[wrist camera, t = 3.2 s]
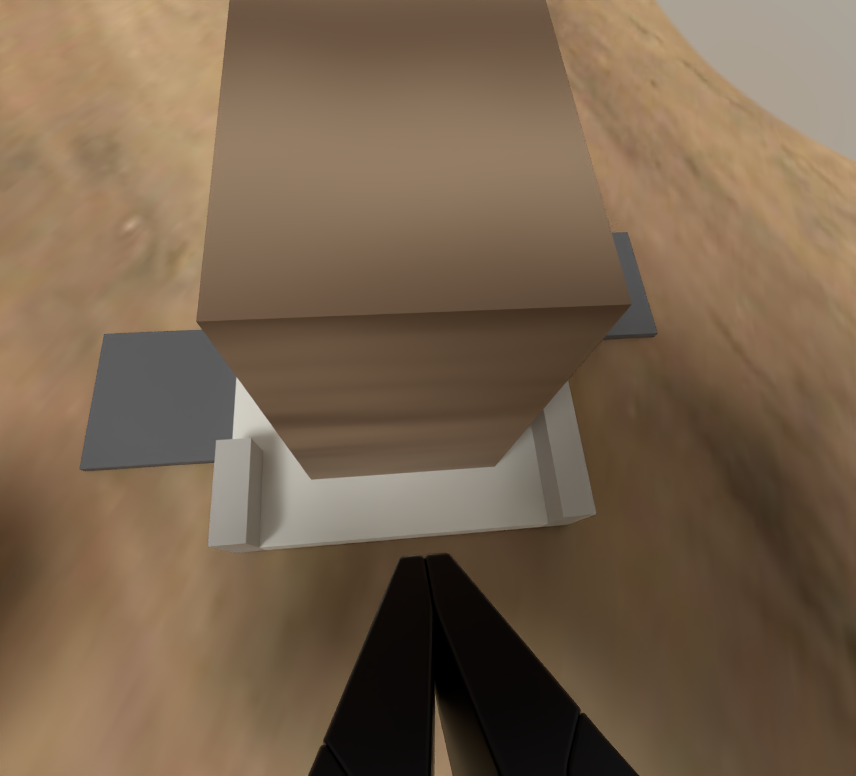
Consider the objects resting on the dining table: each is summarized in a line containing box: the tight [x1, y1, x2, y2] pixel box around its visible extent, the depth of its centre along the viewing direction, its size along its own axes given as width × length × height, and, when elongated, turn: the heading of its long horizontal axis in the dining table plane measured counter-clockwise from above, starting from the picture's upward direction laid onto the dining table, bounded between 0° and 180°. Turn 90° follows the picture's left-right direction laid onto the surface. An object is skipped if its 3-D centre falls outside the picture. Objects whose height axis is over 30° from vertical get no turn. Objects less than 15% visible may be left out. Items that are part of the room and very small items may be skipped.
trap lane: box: [80, 232, 657, 553], centre depth 19 cm, size 22×21×4 cm
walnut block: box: [196, 0, 632, 480], centre depth 13 cm, size 9×6×10 cm, turn 5°
